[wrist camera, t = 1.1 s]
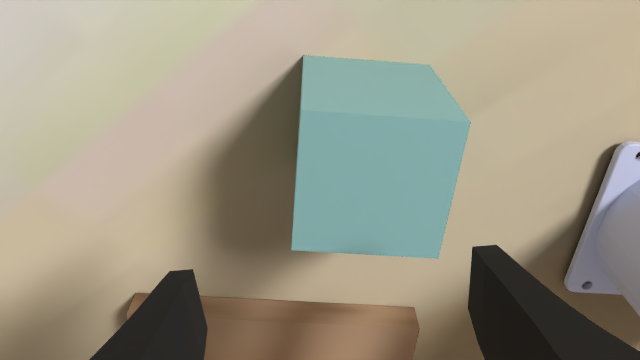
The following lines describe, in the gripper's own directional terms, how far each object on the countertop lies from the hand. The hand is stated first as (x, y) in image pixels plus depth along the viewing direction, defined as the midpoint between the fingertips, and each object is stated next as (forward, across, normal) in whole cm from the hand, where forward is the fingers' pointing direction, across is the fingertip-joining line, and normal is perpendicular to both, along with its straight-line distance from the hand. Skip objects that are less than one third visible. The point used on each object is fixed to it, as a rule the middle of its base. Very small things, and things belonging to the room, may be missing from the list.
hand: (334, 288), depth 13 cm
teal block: (+10, -2, -1) cm, 10 cm away
